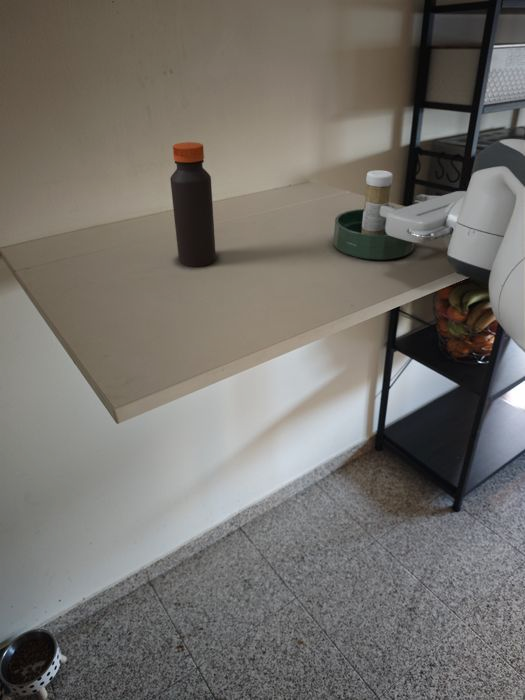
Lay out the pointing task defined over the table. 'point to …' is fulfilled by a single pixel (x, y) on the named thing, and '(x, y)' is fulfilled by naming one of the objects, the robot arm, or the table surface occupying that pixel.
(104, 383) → the table surface
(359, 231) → the green faceted bowl
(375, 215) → the sprinkles bottle
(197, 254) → the vinegar
